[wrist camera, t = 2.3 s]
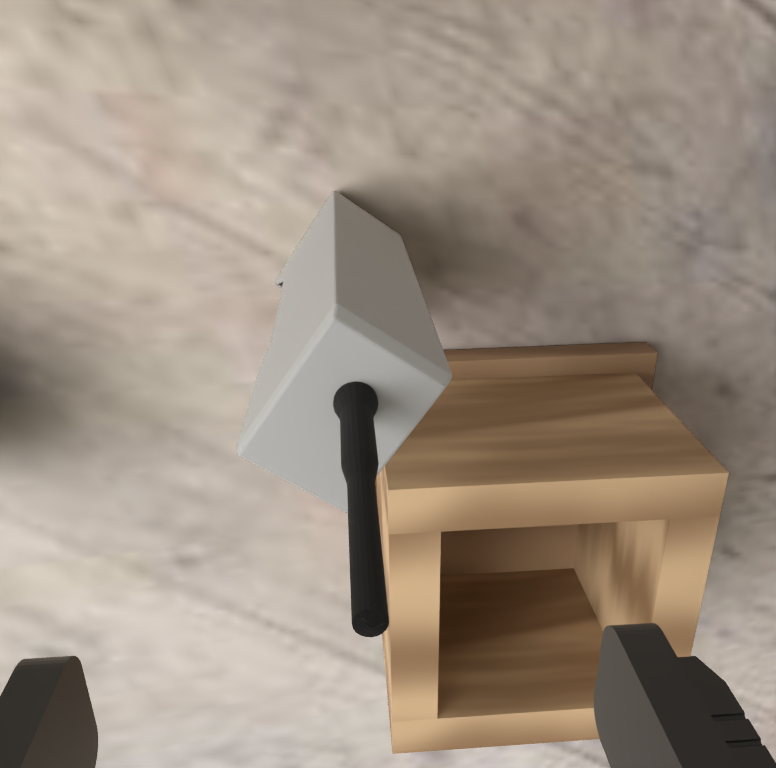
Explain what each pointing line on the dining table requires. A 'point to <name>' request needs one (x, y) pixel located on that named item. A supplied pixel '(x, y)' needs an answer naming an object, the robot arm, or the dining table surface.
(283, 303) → the vintage mobile phone
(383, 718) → the dining table surface
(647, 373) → the socket block
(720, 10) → the dining table surface
